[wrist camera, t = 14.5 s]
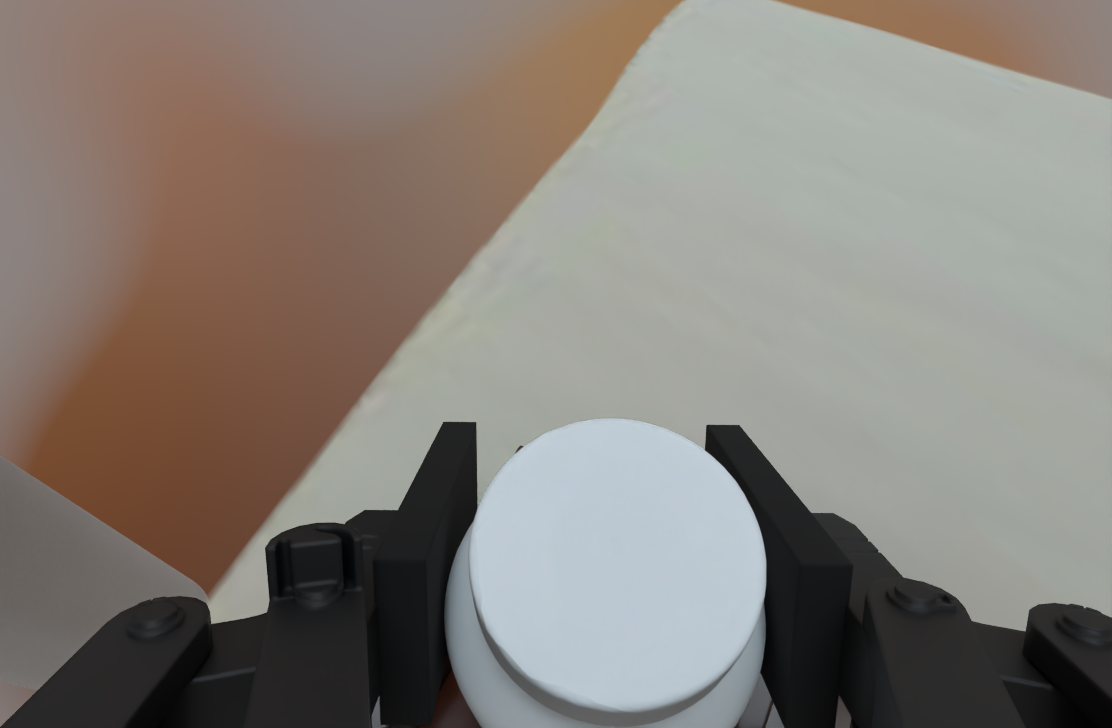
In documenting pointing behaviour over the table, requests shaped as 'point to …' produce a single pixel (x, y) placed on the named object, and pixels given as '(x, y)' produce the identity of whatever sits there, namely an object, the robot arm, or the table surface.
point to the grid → (458, 724)
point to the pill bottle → (609, 586)
